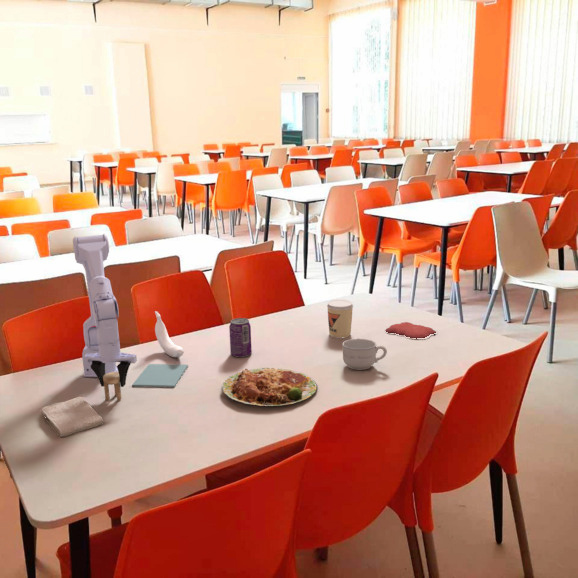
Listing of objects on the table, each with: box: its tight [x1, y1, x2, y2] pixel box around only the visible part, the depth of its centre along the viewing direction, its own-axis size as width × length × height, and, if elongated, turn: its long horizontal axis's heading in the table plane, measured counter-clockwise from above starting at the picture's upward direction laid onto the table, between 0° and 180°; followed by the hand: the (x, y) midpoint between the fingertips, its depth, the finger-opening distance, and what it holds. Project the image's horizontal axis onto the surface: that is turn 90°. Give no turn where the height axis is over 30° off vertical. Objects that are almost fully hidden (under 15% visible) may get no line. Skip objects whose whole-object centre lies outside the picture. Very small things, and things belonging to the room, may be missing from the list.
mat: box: [132, 363, 189, 388], centre depth 193 cm, size 13×16×1 cm
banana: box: [154, 310, 185, 358], centre depth 207 cm, size 5×19×15 cm, turn 38°
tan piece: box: [103, 371, 122, 401], centre depth 177 cm, size 5×5×7 cm
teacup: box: [341, 338, 388, 371], centre depth 195 cm, size 14×11×8 cm
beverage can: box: [228, 317, 252, 358], centre depth 207 cm, size 7×7×12 cm
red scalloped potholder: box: [384, 321, 437, 339], centre depth 227 cm, size 18×14×2 cm
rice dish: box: [221, 367, 318, 407], centre depth 181 cm, size 28×28×5 cm
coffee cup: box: [326, 299, 354, 339], centre depth 224 cm, size 9×9×12 cm
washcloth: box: [41, 396, 105, 438], centre depth 166 cm, size 12×18×3 cm, turn 38°
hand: (113, 385), depth 177 cm, fingers closed on tan piece, 5 cm apart
